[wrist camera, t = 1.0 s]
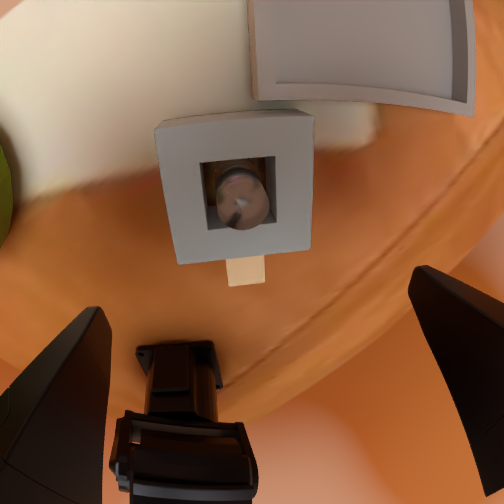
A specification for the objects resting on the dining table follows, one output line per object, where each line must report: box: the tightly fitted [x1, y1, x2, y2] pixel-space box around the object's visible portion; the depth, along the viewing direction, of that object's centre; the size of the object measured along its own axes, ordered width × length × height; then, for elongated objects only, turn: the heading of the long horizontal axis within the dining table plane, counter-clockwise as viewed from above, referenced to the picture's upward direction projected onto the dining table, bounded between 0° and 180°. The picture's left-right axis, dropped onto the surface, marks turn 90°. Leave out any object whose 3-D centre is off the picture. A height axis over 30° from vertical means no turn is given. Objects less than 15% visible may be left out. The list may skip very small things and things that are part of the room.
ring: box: [154, 109, 314, 287], centre depth 16 cm, size 9×7×3 cm
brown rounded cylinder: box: [215, 158, 269, 230], centre depth 15 cm, size 2×2×4 cm
